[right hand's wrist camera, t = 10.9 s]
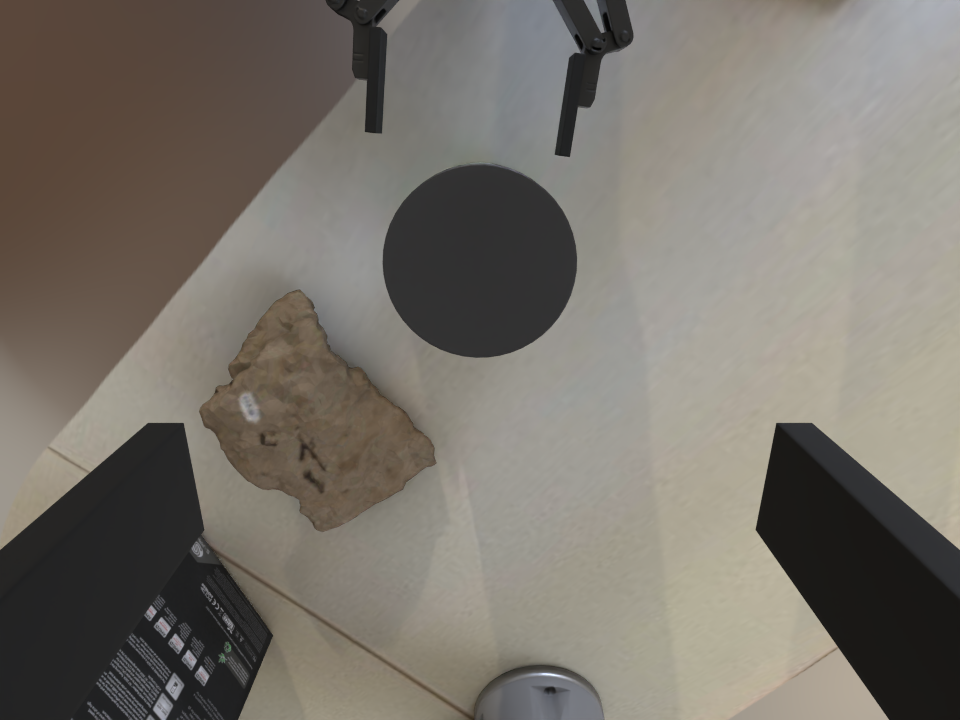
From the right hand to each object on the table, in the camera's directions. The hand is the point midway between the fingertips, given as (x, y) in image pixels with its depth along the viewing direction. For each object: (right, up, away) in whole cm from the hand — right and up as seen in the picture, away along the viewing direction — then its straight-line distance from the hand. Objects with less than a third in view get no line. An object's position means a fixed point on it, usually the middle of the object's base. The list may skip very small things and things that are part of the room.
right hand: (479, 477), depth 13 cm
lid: (0, +8, +22) cm, 23 cm away
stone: (-15, -2, +44) cm, 47 cm away
